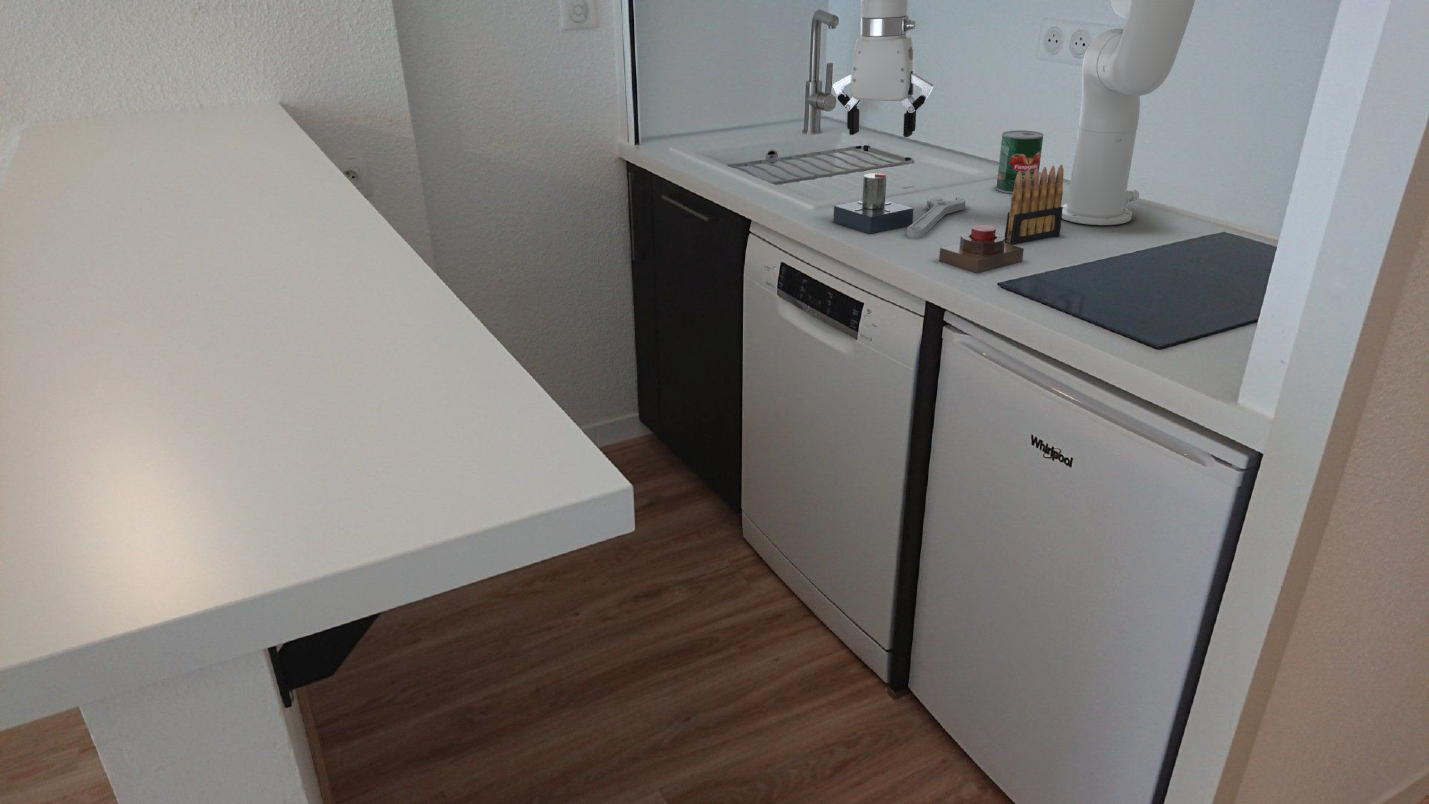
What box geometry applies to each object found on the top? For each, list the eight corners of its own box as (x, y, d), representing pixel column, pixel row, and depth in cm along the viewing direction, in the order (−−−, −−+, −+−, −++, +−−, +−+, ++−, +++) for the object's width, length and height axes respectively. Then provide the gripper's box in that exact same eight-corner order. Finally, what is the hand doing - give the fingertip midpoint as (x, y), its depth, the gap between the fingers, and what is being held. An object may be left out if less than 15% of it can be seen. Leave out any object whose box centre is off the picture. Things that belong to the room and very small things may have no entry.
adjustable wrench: (919, 240, 161) (920, 229, 161) (884, 235, 164) (885, 225, 164) (968, 206, 180) (969, 197, 179) (936, 203, 183) (936, 193, 183)
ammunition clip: (1051, 233, 162) (1061, 162, 157) (1059, 236, 161) (1069, 164, 156) (1003, 242, 158) (1011, 170, 153) (1010, 245, 157) (1019, 172, 152)
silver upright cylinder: (859, 208, 169) (860, 175, 166) (866, 203, 172) (867, 170, 170) (880, 210, 167) (882, 177, 165) (887, 205, 171) (889, 172, 168)
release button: (982, 234, 150) (983, 223, 149) (999, 239, 147) (1000, 228, 146) (965, 238, 148) (966, 227, 147) (983, 243, 145) (984, 232, 145)
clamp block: (875, 213, 177) (875, 196, 176) (912, 224, 170) (913, 207, 168) (833, 222, 172) (833, 204, 171) (870, 234, 165) (870, 215, 163)
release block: (983, 250, 155) (985, 226, 153) (1022, 262, 148) (1025, 237, 147) (938, 261, 150) (940, 236, 148) (977, 273, 144) (979, 248, 142)
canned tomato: (1020, 196, 187) (1026, 138, 182) (987, 189, 193) (993, 133, 188) (1045, 189, 191) (1052, 133, 186) (1012, 183, 197) (1018, 128, 192)
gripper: (941, 26, 156) (936, 132, 163) (842, 27, 164) (841, 129, 171) (928, 30, 150) (923, 140, 158) (826, 31, 158) (825, 136, 165)
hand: (880, 134), depth 164 cm, fingers open, 9 cm apart
